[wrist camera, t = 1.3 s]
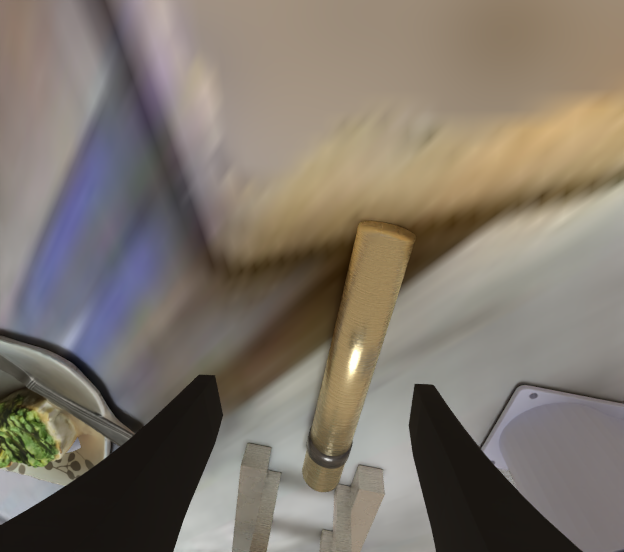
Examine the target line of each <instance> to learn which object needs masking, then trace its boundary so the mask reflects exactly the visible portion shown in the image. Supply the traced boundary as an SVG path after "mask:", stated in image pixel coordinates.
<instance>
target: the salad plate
mask: <svg viewBox="0 0 624 552" xmlns="http://www.w3.org/2000/svg"><path fill="white" fill-rule="evenodd" d="M133 435H135V433H134V432H132V431H131V430H130V429H129V428H127V427H126V426H125V425H124V424H122V423H121V422H120V421H119V420H118V419H117V418H116V417H115V416H114V414H113V413H112V411H111V410H110V409H109V407H108V405H107V404H106V402H105V401H104V399H103V397H102V395H101V393H100V392H99V390H98V389H97V388H96V387H95V386H94V385H93V384H92V383H91V382H90V380H89V379H88V378H87V377H86V376H85V375H84V374H83V373H82V372H81V371H80V370H79V369H78V368H77V367H76V366H75V365H74V364H73V363H71V362H70V361H68V360H66V359H65V358H63V357H61V356H59V355H57V354H55V353H53V352H51V351H49V350H47V349H44V348H40V347H37V346H33V345H30V344H27V343H23V342H20V341H16V340H14V339H11V338H8V337H5V336H2V335H0V469H2V470H7V471H10V472H16V473H19V474H22V475H28V476H32V477H34V478H37V479H39V480H44V481H47V482H51V483H56V484H59V485H64V486H66V485H67V484H69V483H70V482H72V481H73V480H75V479H76V478H78V477H79V476H81V475H82V474H84V473H85V472H87V471H88V470H90V469H91V468H92V467H94V466H95V465H97V464H98V463H99V462H101V461H102V460H103V459H105V458H106V457H107V456H109V455H110V449H111V441H112V442H113V443H115V444H117V445H118V446H122V445H123V444H124V443H125V442H126V441H128V440H129V439H130V438H131V437H132V436H133ZM77 437H78V439H79V441H80V445H81V448H80V449H78V450H76V451H73V452H69V453H66V452H67V451H68V450H69V449H70V447H71V446H72V445H73V443H74V442H75V440H76V438H77Z"/></svg>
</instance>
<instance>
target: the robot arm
mask: <svg viewBox="0 0 624 552" xmlns="http://www.w3.org/2000/svg"><path fill="white" fill-rule="evenodd" d="M532 393H533V394H532ZM222 417H223V413H222V408H221V403H220V398H219V393H218V388H217V383H216V378H215V375H198V376H197V377H196V378H195V379H194V380H193V381H192V382H191V383H190V384H189V385H188V386H187V387H186V388H185V389H184V390H183V391H182V392H180V393H179V394H178V395H177V396H176V397H175V398H174V399H173V400H172V401H171V402H170V403H169V404H168V405H167V406H166V407H165V408H164V409H163V410H162V411H160V412H159V413H158V414H157V415H156V416H155V417H154V418H153V419H152V420H151V421H150V422H149V423H147V424H146V425H145V426H144V427H143V428H142V429H140V430H139V431H138V432H137V433H136V434H135V435H133V436H132V437H131V438H130V439H129V440H128V441H126V442H125V443H124V444H123V445H122V446H120V447H119V448H118V449H116V450H115V451H114V452H113V453H111V454H110V455H109V456H107V457H106V458H105V459H103V460H102V461H101V462H99V463H98V464H97V465H95V466H94V467H92V468H91V469H90V470H88V471H87V472H85V473H84V474H82V475H81V476H79V477H78V478H76V479H75V480H73V481H72V482H70V483H69V484H67V485H66V486H65V487H63V488H62V489H60V490H59V491H57V492H55V493H54V494H52V495H51V496H49V497H47V498H46V499H44V500H43V501H41V502H39V503H38V504H36V505H34V506H33V507H31V508H29V509H28V510H26V511H24V512H23V513H21V514H19V515H17V516H16V517H14V518H12V519H10V520H9V521H7V522H5V523H3V524H2V525H0V552H173V551H174V548H175V545H176V542H177V538H178V535H179V532H180V529H181V526H182V523H183V520H184V518H185V515H186V512H187V510H188V507H189V505H190V502H191V500H192V497H193V495H194V493H195V490H196V488H197V486H198V483H199V481H200V478H201V476H202V474H203V471H204V469H205V467H206V464H207V462H208V459H209V457H210V454H211V452H212V450H213V447H214V445H215V442H216V438H217V435H218V432H219V428H220V424H221V421H222ZM409 430H410V438H411V445H412V451H413V457H414V461H415V465H416V469H417V473H418V477H419V481H420V485H421V489H422V493H423V497H424V501H425V505H426V509H427V513H428V517H429V521H430V525H431V529H432V533H433V538H434V543H435V548H436V552H624V404H622V403H617V402H612V401H606V400H601V399H596V398H591V397H586V396H580V395H575V394H570V393H565V392H560V391H554V390H549V389H544V388H539V387H534V386H528V385H522V386H519V387H518V388H517V389H516V390H515V392H514V394H513V396H512V397H511V399H510V401H509V402H508V404H507V406H506V407H505V409H504V411H503V413H502V414H501V416H500V418H499V419H498V421H497V423H496V424H495V426H494V428H493V430H492V431H491V433H490V435H489V436H488V438H487V440H486V442H485V443H484V445H483V447H482V448H481V449H480V448H479V446H478V445H477V444H476V443H475V441H474V440H473V439H472V437H471V436H470V435H469V434H468V432H467V431H466V430H465V429H464V427H463V426H462V425H461V423H460V422H459V421H458V419H457V418H456V416H455V415H454V414H453V412H452V411H451V410H450V408H449V407H448V405H447V404H446V402H445V401H444V399H443V398H442V397H441V395H440V394H439V392H438V391H437V389H436V387H435V386H434V385H429V384H415V386H414V393H413V400H412V407H411V414H410V421H409ZM497 468H499V469H504V470H509V471H510V474H511V476H512V478H513V480H514V482H515V485H516V487H517V489H518V490H517V489H516V488H515V487H514V486H513V485H512V484H511V483H510V482H509V481H508V480H507V479H506V478H505V476H504V475H503V474H502V473H501V472H500V471H499V470H498V469H497Z"/></svg>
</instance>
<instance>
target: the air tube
mask: <svg viewBox="0 0 624 552" xmlns="http://www.w3.org/2000/svg"><path fill="white" fill-rule="evenodd" d="M415 239H416V236H415V235H414V234H413V233H412V232H410V231H408V230H406V229H404V228H402V227H399V226H396V225H392V224H388V223H384V222H376V221H365V222H361V223H359V225H358V229H357V234H356V238H355V242H354V247H353V251H352V256H351V260H350V264H349V269H348V273H347V277H346V282H345V286H344V290H343V295H342V299H341V303H340V308H339V312H338V316H337V321H336V325H335V329H334V334H333V338H332V342H331V347H330V351H329V355H328V360H327V364H326V369H325V373H324V377H323V382H322V386H321V390H320V395H319V399H318V403H317V408H316V412H315V416H314V421H313V425H312V427H311V429H310V432H309V436H308V441H307V451H306V455H305V460H304V464H303V469H302V473H303V477H304V480H305V482H306V483H307V484H308V485H309V486H310V487H311V488H312V489H314V490H316V491H319V492H328V491H331V490H333V489H334V488H336V486H337V485H338V483H339V481H340V478H341V474H342V471H343V468H344V465H345V463H346V461H347V459H348V457H349V454H350V451H351V447H352V443H353V440H352V439H353V436H354V433H355V430H356V427H357V424H358V420H359V417H360V414H361V411H362V408H363V405H364V401H365V398H366V395H367V392H368V389H369V385H370V382H371V379H372V376H373V373H374V370H375V366H376V363H377V360H378V357H379V354H380V350H381V347H382V344H383V341H384V338H385V335H386V331H387V328H388V325H389V322H390V319H391V316H392V312H393V309H394V306H395V303H396V300H397V296H398V293H399V290H400V287H401V284H402V281H403V277H404V274H405V271H406V268H407V265H408V261H409V258H410V255H411V252H412V249H413V246H414V242H415Z"/></svg>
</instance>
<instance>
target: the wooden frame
mask: <svg viewBox="0 0 624 552" xmlns="http://www.w3.org/2000/svg"><path fill="white" fill-rule="evenodd" d="M270 453H271V447H266V446H261V445H255V444H250V443H248V444H247V447H246V451H245V454H244V457H243V460H242V464H241V470H240V479H239V489H238V499H237V508H236V518H235V527H234V537H233V547H232V552H266V551H267V546H268V541H269V535H270V530H271V524H272V519H273V514H274V508H275V503H276V498H277V492H278V487H279V482H280V476H281V473H280V472H275V471H270V470H268V465H269V459H270ZM384 495H385V491H384V481H383V471H382V469H377V468H372V467H367V466H362V465H358V468H357V471H356V474H355V477H354V480H353V483H352V485H351V487H350V486H345V485H340V484H338V485H337V487H336V490H335V493H334V514H333V531H328V530H323V531H322V534H321V537H320V550H319V552H360V550H361V548H362V546H363V543H364V541H365V539H366V537H367V534H368V532H369V530H370V527H371V525H372V523H373V520H374V518H375V516H376V513H377V511H378V509H379V506H380V504H381V502H382V500H383V497H384Z"/></svg>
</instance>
